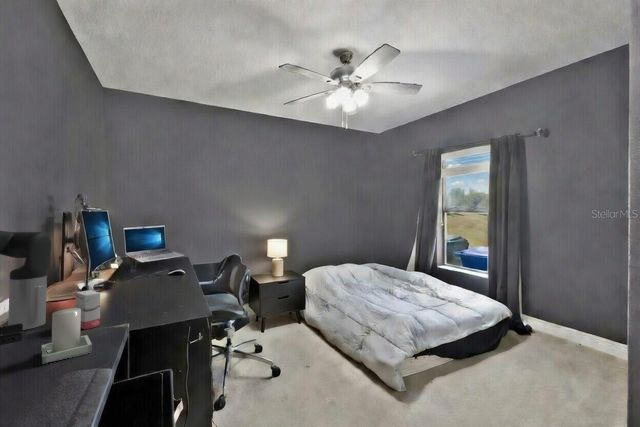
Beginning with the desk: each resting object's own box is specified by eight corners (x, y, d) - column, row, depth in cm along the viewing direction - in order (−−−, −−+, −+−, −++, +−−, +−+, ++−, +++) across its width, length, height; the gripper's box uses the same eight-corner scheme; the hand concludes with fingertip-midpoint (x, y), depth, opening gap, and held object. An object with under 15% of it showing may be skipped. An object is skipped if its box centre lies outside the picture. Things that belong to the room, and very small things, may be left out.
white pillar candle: (50, 350, 80) (51, 311, 80) (78, 344, 84) (79, 306, 85) (52, 357, 76) (53, 316, 76) (81, 350, 80) (82, 311, 80)
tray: (41, 352, 80) (41, 344, 80) (87, 342, 87) (87, 334, 87) (42, 365, 73) (42, 356, 73) (91, 352, 80) (92, 344, 80)
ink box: (100, 325, 101) (101, 292, 101) (83, 330, 97) (84, 295, 97) (90, 321, 106) (91, 289, 106) (74, 325, 101) (74, 292, 102)
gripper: (-94, 343, 58) (22, 323, 69) (-76, 326, 68) (23, 311, 79) (-95, 381, 57) (21, 354, 69) (-77, 358, 67) (22, 338, 79)
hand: (22, 331), depth 74 cm, fingers open, 8 cm apart
